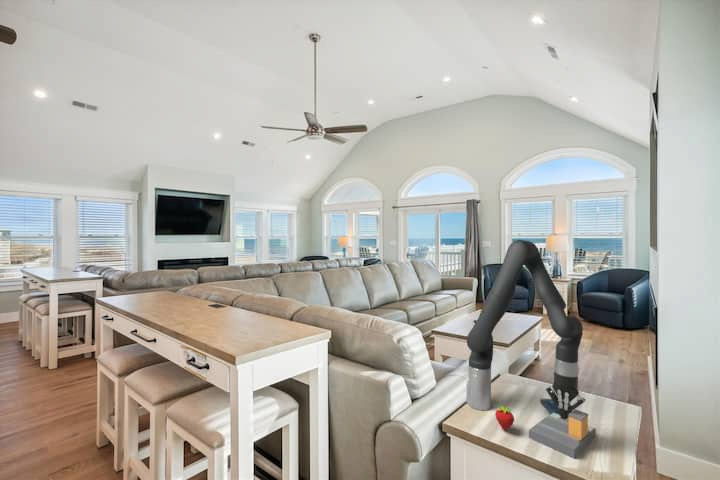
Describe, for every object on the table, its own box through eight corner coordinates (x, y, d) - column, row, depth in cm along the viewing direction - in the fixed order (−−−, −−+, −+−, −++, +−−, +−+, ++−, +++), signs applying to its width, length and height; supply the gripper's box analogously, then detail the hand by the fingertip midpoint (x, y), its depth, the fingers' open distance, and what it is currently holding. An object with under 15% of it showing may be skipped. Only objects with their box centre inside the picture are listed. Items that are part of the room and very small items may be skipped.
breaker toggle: (568, 435, 124) (568, 414, 124) (575, 429, 128) (575, 409, 128) (581, 440, 121) (581, 419, 121) (588, 434, 125) (588, 413, 125)
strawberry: (504, 437, 128) (505, 410, 128) (491, 426, 136) (491, 400, 135) (518, 434, 130) (518, 408, 130) (504, 424, 137) (504, 398, 137)
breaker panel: (528, 437, 128) (528, 427, 128) (552, 419, 141) (552, 410, 141) (574, 458, 116) (574, 447, 116) (595, 436, 129) (595, 426, 129)
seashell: (577, 412, 141) (560, 389, 149) (557, 416, 140) (541, 394, 148) (571, 420, 145) (555, 398, 153) (552, 425, 143) (537, 402, 151)
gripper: (542, 368, 130) (540, 414, 131) (582, 380, 120) (580, 430, 121) (551, 363, 135) (549, 407, 136) (590, 375, 124) (588, 422, 125)
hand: (564, 418), depth 128 cm, fingers closed
